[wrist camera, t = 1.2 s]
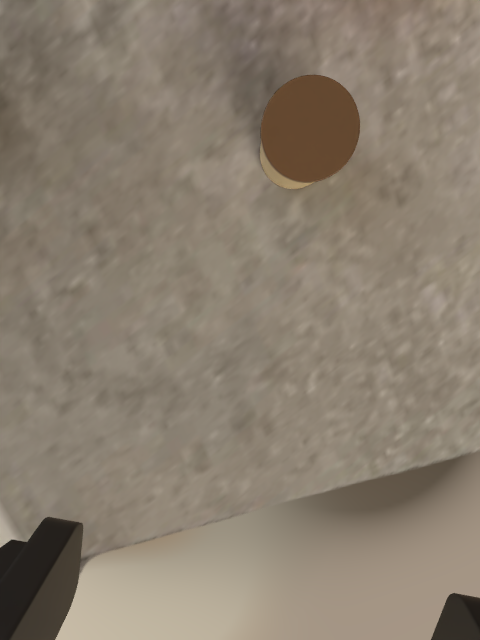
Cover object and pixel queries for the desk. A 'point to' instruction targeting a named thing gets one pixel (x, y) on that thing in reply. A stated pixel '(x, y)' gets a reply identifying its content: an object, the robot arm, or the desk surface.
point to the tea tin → (308, 131)
